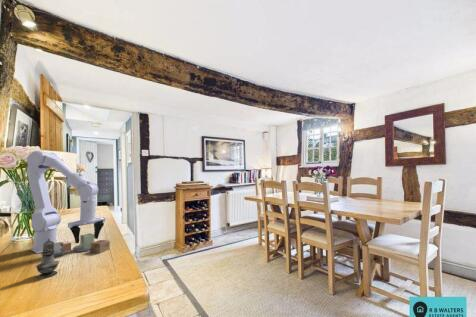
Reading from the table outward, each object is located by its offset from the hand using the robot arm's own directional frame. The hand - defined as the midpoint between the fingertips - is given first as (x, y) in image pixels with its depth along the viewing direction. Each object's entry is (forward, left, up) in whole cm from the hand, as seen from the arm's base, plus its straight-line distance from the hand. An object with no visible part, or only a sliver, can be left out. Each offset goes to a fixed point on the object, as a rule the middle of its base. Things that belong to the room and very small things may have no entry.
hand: (86, 240), depth 101 cm
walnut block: (+9, +2, -4) cm, 10 cm away
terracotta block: (-5, -8, -4) cm, 10 cm away
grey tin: (0, -11, -3) cm, 12 cm away
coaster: (0, 0, -3) cm, 3 cm away
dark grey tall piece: (+19, -19, -4) cm, 27 cm away
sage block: (0, 0, -2) cm, 2 cm away
